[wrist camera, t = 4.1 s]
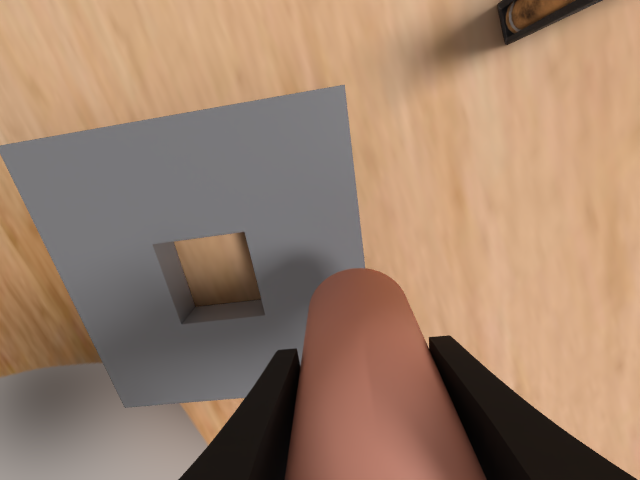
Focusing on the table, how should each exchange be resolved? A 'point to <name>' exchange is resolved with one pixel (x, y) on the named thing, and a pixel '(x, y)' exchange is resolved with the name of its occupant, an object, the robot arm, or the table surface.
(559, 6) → the ammunition clip
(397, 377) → the peg
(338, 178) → the socket plate
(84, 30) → the table surface
